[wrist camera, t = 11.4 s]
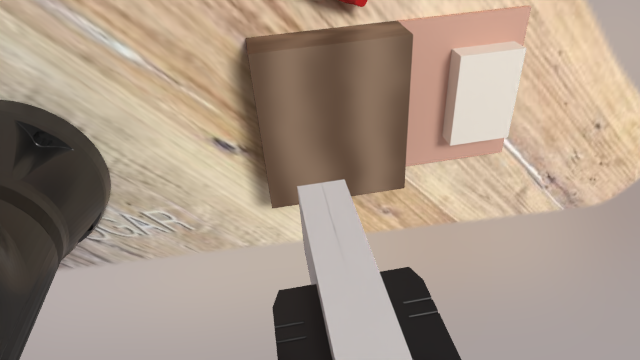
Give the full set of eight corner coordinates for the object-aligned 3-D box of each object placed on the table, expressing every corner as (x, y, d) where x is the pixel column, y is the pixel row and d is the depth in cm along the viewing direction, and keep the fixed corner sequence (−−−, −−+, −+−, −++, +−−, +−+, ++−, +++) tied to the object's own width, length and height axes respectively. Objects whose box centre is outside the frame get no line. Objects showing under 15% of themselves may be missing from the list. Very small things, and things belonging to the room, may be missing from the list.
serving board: (269, 184, 45) (272, 208, 42) (245, 38, 37) (247, 54, 34) (392, 166, 47) (404, 188, 44) (397, 20, 38) (413, 34, 35)
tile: (507, 137, 44) (497, 127, 46) (526, 48, 39) (514, 40, 41) (450, 145, 44) (442, 135, 45) (461, 56, 38) (451, 48, 40)
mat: (392, 166, 47) (393, 168, 46) (397, 20, 38) (399, 21, 38) (499, 150, 48) (501, 152, 48) (528, 5, 39) (531, 6, 39)
